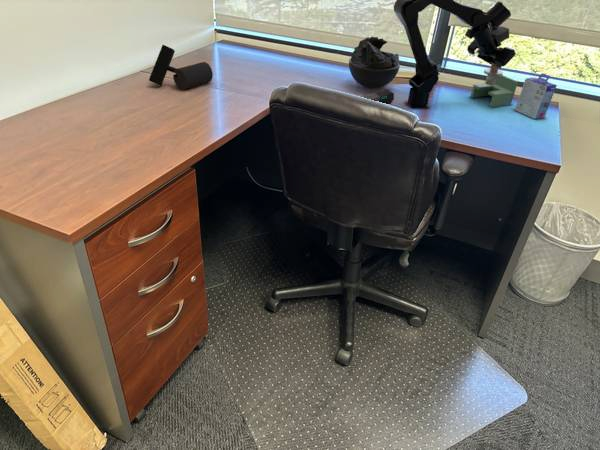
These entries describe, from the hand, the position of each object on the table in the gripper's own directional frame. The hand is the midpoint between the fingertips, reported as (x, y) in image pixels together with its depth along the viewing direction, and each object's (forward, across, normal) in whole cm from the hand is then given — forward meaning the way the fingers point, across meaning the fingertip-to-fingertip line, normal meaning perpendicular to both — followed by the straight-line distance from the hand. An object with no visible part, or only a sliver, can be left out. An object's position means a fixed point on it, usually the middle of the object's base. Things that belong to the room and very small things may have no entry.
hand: (497, 66), depth 176 cm
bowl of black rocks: (-17, +27, +36) cm, 48 cm away
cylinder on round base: (+4, 0, +6) cm, 7 cm away
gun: (-29, +4, +48) cm, 56 cm away
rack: (+10, -1, +9) cm, 13 cm away
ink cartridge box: (+13, -16, +6) cm, 22 cm away
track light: (-67, +50, +86) cm, 120 cm away
